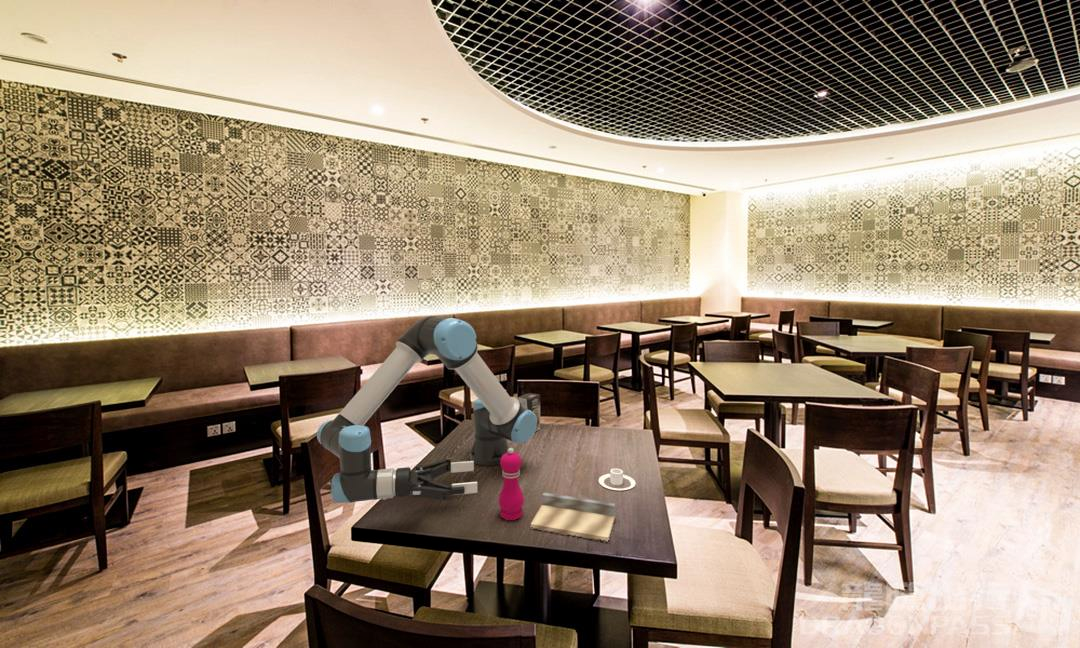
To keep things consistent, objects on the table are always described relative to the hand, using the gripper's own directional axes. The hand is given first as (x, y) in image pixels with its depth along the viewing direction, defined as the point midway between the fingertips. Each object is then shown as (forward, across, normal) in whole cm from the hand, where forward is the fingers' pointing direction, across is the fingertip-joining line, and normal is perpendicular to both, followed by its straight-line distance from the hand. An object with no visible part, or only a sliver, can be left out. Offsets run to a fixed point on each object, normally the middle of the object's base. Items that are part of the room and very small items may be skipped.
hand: (475, 475), depth 124 cm
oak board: (+26, +8, -13) cm, 30 cm away
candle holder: (+47, -12, -13) cm, 50 cm away
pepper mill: (+10, 0, -13) cm, 16 cm away
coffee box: (+28, -65, -12) cm, 72 cm away
